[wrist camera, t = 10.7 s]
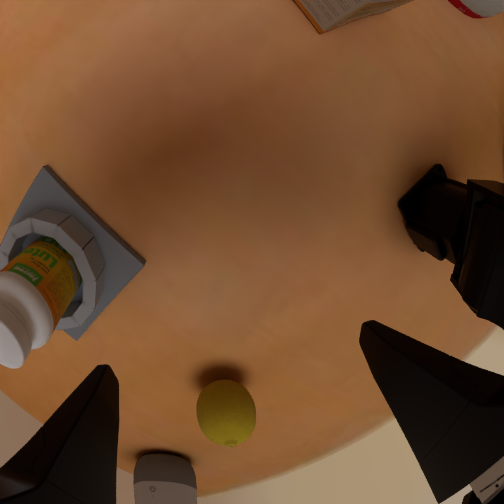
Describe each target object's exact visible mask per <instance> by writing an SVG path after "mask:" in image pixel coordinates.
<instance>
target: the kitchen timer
mask: <svg viewBox="0 0 504 504" xmlns="http://www.w3.org/2000/svg"><path fill="white" fill-rule="evenodd" d="M448 1H449V2H450V3H451V4H452V5H453V6H454V7H456V8H457V9H458V10H460V11H461V12H462V13H464V14H465V15H467V16H470V17H472V18H486V17H491V16H494V15H497V14H499V13H501V12H502V11H504V0H448Z"/></svg>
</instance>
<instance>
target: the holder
mask: <svg viewBox="0 0 504 504" xmlns="http://www.w3.org/2000/svg"><path fill="white" fill-rule="evenodd" d="M42 236H48V237H51V238H54V239H55V240H56V241H57V242H58V243H59V244H60V245H61V246H62V247H63V248H64V249H65V250H66V251H67V252H69V253H70V254H71V255H72V256H73V258H74V261H75V263H76V265H77V268H78V270H79V272H80V274H81V277H82V279H83V280H82V284H81V286H80V288H79V290H78V291H77V293H76V295H75V296H74V298H73V299H72V301H71V302H70V304H69V306H68V307H67V309H66V311H65V312H64V314H63V316H62V318H61V319H60V321H59V323H58V324H57V326H56V328H55V329H56V330H58V329H59V330H63V331H65V332H66V333H67V334H69V335H70V336H71V337H72V338H74V339H75V340H76V341H77V340H78V339H79V338H80V337H81V335H82V334H83V333H84V332H85V331H86V330H87V328H88V327H89V326H90V325H91V324H92V323H93V321H94V320H95V319H96V318H97V317H98V316H99V314H100V313H101V312H102V311H103V310H104V309H105V308H106V307H107V305H108V304H109V303H110V302H111V301H112V300H113V299H114V298H115V297H116V295H117V294H118V293H119V292H120V291H121V290H122V289H123V288H124V287H125V286H126V285H127V283H128V282H129V281H130V280H131V279H132V278H133V277H134V276H135V275H136V274H137V273H138V272H139V271H140V270H141V269H142V268H143V266H144V265H145V262H146V261H145V260H144V259H143V258H142V257H141V256H140V255H139V254H138V253H136V252H135V251H134V250H133V249H132V248H131V247H130V246H129V245H128V244H126V243H125V242H124V241H123V240H122V239H121V238H120V237H119V236H118V235H117V234H116V233H115V232H113V231H112V230H111V229H110V228H109V227H108V226H107V225H106V224H105V223H104V222H103V221H102V220H101V219H100V218H99V217H98V216H97V215H96V214H95V213H94V212H93V211H92V210H91V209H90V208H89V207H88V206H86V205H85V204H84V203H83V202H82V201H81V200H80V199H79V197H78V196H77V195H76V194H75V193H74V192H73V191H72V190H71V189H70V188H69V187H68V186H67V185H66V184H65V183H64V182H63V181H62V180H61V179H60V178H59V177H58V176H57V175H56V174H55V173H54V171H53V170H52V169H51V168H50V167H49V166H48V165H47V166H43V167H42V169H41V170H40V172H39V173H38V175H37V176H36V178H35V180H34V181H33V183H32V185H31V186H30V188H29V190H28V191H27V193H26V195H25V197H24V199H23V200H22V202H21V204H20V206H19V208H18V210H17V211H16V213H15V215H14V217H13V219H12V221H11V223H10V225H9V228H8V230H7V232H6V234H5V236H4V238H3V241H2V243H1V245H0V271H1V270H2V269H3V268H4V267H5V266H6V265H7V264H8V263H9V262H10V261H12V260H13V259H14V258H15V257H16V256H17V255H18V254H20V253H21V252H22V251H23V250H24V249H25V248H26V247H28V246H29V245H30V244H31V243H33V242H34V241H35V240H37V239H38V238H40V237H42Z"/></svg>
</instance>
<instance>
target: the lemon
mask: <svg viewBox="0 0 504 504" xmlns="http://www.w3.org/2000/svg"><path fill="white" fill-rule="evenodd" d="M197 418H198V422H199V425H200V428H201V430H202V431H203V433H204V434H205V436H206V437H207V438H208V439H210V440H211V441H213V442H214V443H217V444H219V445H223V446H228V447H234V446H235V445H237V444H240V443H242V442H243V441H245V440H246V439H247V438H248V437H249V436H250V435H251V434H252V432H253V430H254V428H255V423H256V409H255V404H254V401H253V399H252V397H251V395H250V393H249V392H248V390H247V389H246V388H245V387H243V386H242V385H241V384H239V383H237V382H235V381H232V380H225V379H224V380H217V381H214V382H212V383H210V384H208V385H207V386H206V387H205V388H204V389H203V390H202V391H201V393H200V395H199V398H198V401H197Z"/></svg>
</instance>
